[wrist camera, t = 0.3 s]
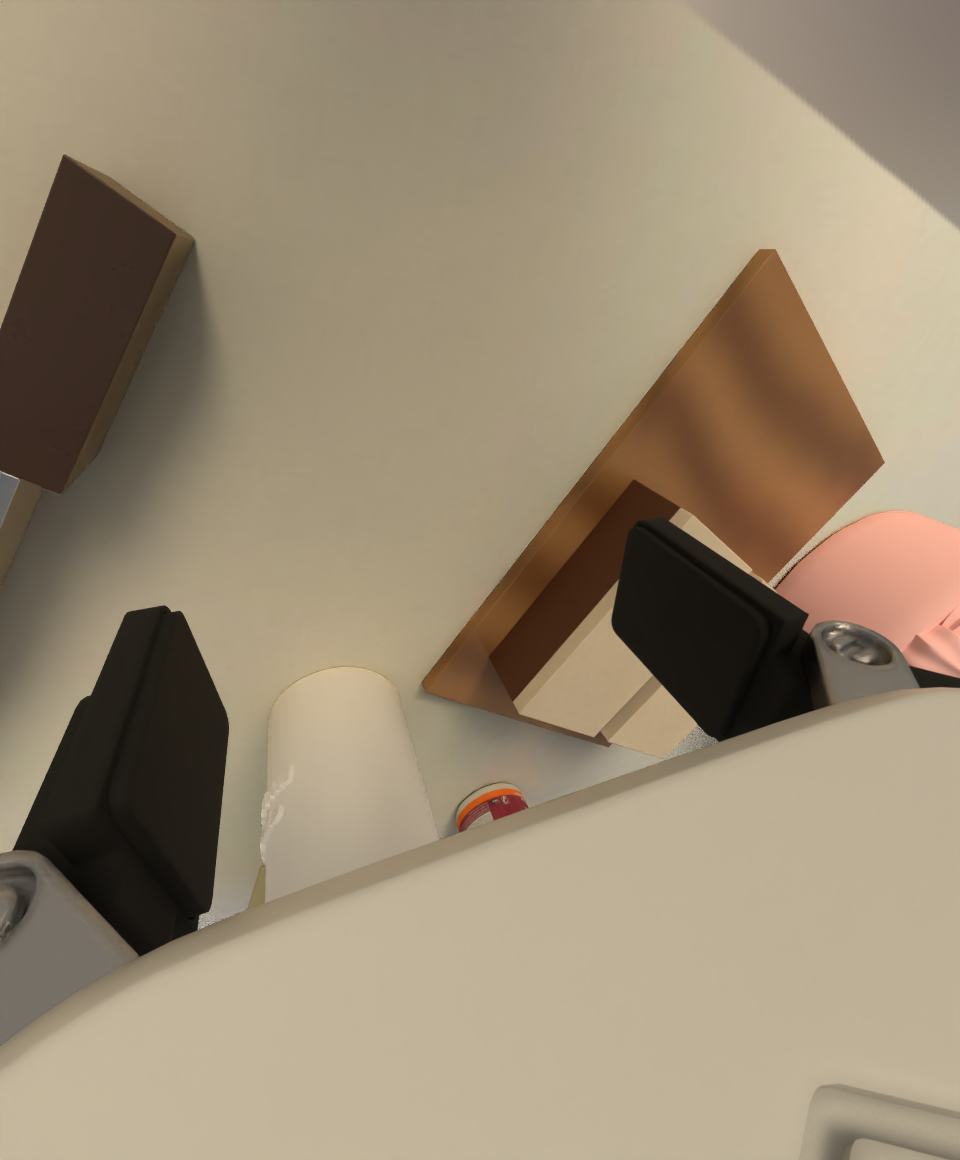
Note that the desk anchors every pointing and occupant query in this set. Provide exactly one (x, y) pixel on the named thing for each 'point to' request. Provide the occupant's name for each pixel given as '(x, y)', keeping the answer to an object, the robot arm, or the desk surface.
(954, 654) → the cake
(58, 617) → the desk surface
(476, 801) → the pill bottle
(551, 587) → the cake
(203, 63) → the desk surface
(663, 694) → the cake
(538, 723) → the cake board
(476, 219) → the desk surface
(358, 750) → the mug
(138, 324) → the knife
